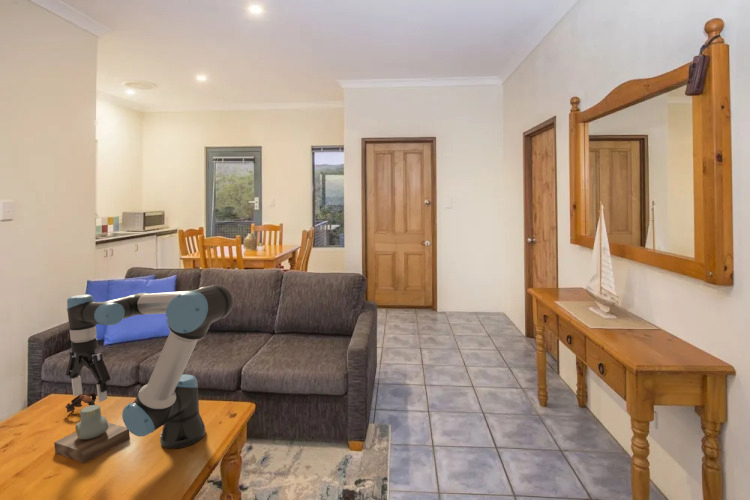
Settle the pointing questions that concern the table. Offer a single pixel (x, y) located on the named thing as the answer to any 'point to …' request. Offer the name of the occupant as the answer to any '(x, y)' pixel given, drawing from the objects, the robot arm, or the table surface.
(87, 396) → the brown curved piece
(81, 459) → the walnut stand
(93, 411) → the air freshener
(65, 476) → the table surface
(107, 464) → the table surface
